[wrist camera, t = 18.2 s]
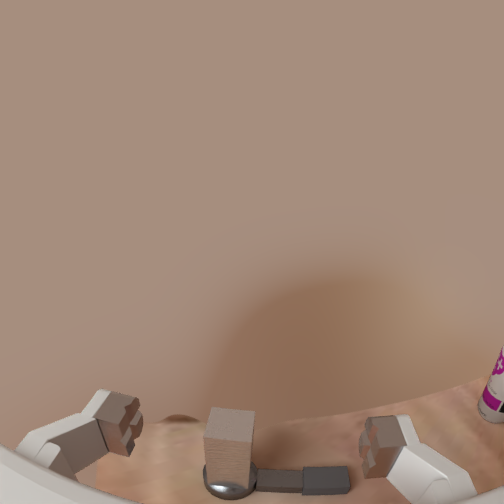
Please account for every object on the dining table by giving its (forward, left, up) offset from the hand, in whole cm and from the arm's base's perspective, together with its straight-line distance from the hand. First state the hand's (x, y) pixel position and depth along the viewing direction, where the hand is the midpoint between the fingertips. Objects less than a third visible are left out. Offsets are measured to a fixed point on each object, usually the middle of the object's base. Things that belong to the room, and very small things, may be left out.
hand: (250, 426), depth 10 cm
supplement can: (-45, -28, -30) cm, 61 cm away
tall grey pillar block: (+3, -17, -28) cm, 33 cm away
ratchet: (-3, -17, -30) cm, 35 cm away
